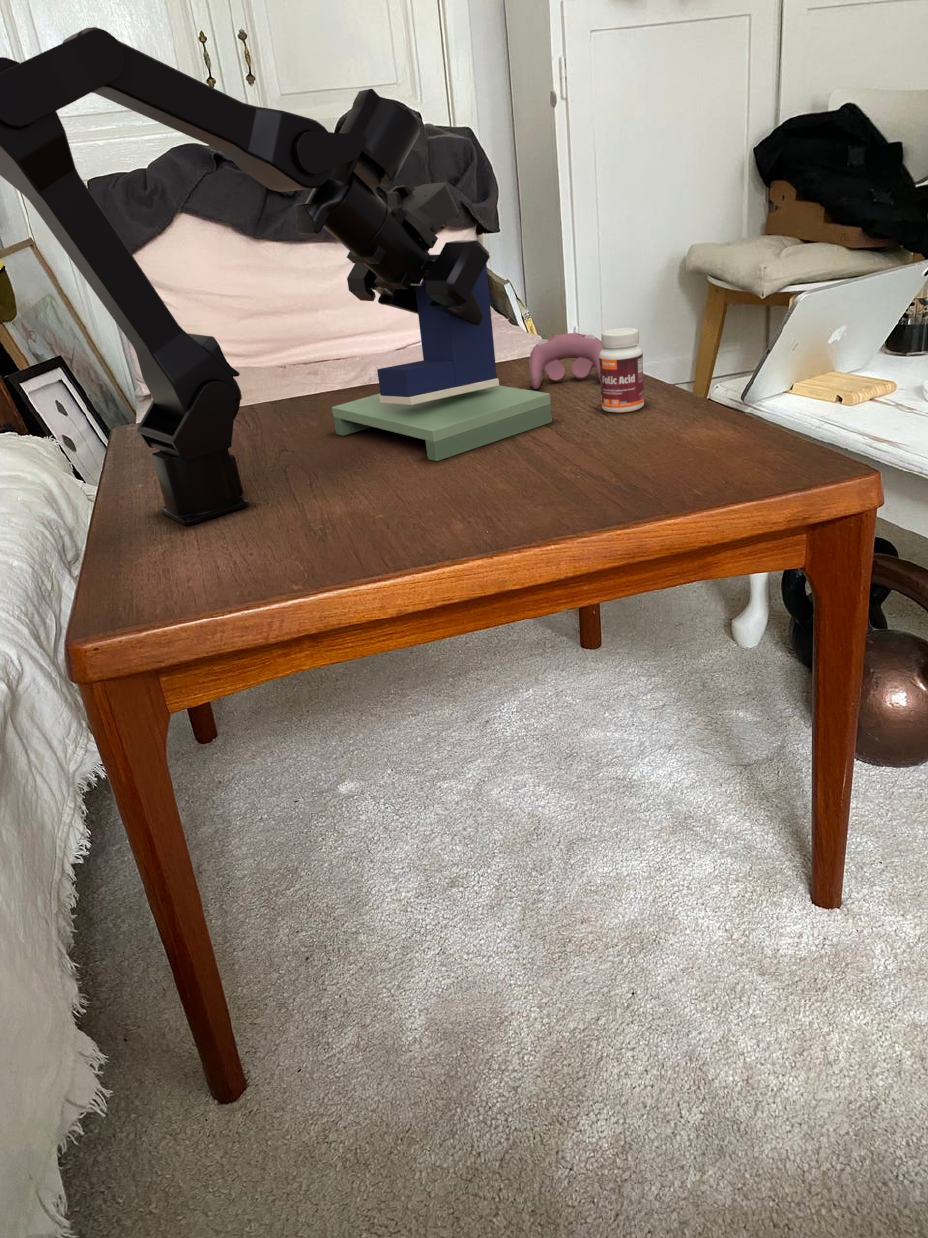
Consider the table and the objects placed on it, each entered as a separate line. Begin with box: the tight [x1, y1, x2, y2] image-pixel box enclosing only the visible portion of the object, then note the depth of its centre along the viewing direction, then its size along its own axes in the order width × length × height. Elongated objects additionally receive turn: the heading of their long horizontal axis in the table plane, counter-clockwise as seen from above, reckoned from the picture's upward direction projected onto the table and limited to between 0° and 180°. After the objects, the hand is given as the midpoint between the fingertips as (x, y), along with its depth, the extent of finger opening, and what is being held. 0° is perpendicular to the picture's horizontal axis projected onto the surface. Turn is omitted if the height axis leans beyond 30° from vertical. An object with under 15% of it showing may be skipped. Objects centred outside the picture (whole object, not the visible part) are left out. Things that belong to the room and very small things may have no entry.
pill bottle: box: [599, 327, 645, 414], centre depth 105 cm, size 5×5×8 cm
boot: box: [376, 262, 500, 405], centre depth 102 cm, size 13×6×14 cm, turn 132°
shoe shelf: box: [331, 384, 553, 462], centre depth 107 cm, size 16×20×3 cm
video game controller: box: [528, 332, 604, 390], centre depth 120 cm, size 10×5×7 cm, turn 84°
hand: (464, 319), depth 104 cm, fingers closed on boot, 5 cm apart
